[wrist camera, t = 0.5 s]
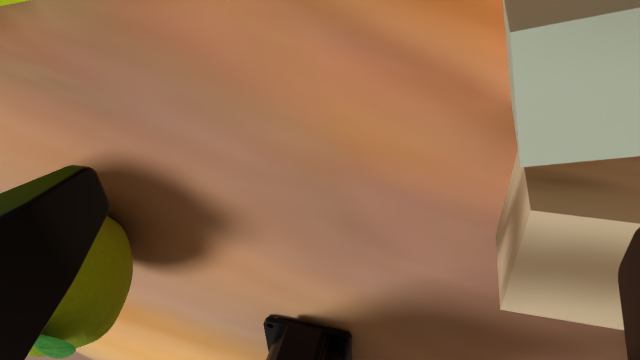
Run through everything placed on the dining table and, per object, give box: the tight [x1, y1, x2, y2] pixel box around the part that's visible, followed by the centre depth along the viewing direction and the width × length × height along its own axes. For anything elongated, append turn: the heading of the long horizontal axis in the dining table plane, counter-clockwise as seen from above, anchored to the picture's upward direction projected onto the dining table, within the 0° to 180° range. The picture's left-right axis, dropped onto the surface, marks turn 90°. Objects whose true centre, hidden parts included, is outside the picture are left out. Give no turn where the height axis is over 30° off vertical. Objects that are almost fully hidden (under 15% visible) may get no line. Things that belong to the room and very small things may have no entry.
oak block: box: [496, 152, 640, 330], centre depth 21 cm, size 6×6×5 cm
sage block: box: [503, 0, 640, 167], centre depth 17 cm, size 5×5×5 cm
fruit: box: [28, 216, 133, 358], centre depth 30 cm, size 9×9×10 cm
